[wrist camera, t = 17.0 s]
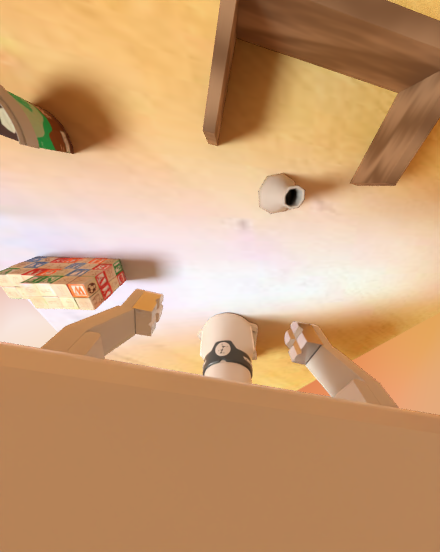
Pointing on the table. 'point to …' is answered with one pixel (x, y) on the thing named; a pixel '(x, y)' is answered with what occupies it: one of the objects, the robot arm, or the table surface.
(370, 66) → the u-shaped enclosure
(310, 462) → the robot arm
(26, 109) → the food container
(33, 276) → the stack of blocks
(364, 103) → the table surface
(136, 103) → the table surface
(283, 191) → the flask
